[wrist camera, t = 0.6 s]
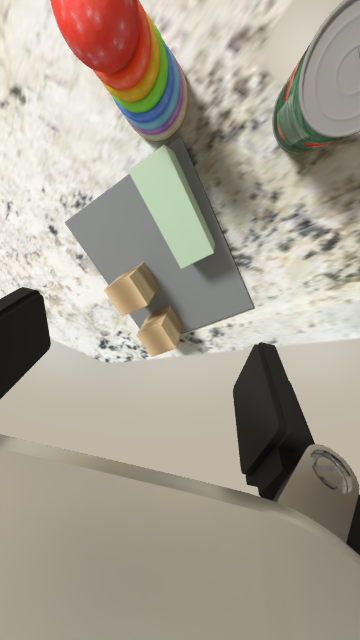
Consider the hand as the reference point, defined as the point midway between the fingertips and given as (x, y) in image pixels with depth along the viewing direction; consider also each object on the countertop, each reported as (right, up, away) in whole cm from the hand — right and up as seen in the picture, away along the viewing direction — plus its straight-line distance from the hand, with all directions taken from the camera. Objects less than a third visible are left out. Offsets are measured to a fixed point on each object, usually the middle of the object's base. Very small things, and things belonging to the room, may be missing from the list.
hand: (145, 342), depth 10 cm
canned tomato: (+16, +25, +16) cm, 34 cm away
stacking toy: (-1, +28, +18) cm, 33 cm away
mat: (-1, +10, +28) cm, 30 cm away
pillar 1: (-6, +8, +30) cm, 31 cm away
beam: (+2, +17, +23) cm, 28 cm away
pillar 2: (-1, +1, +33) cm, 33 cm away
